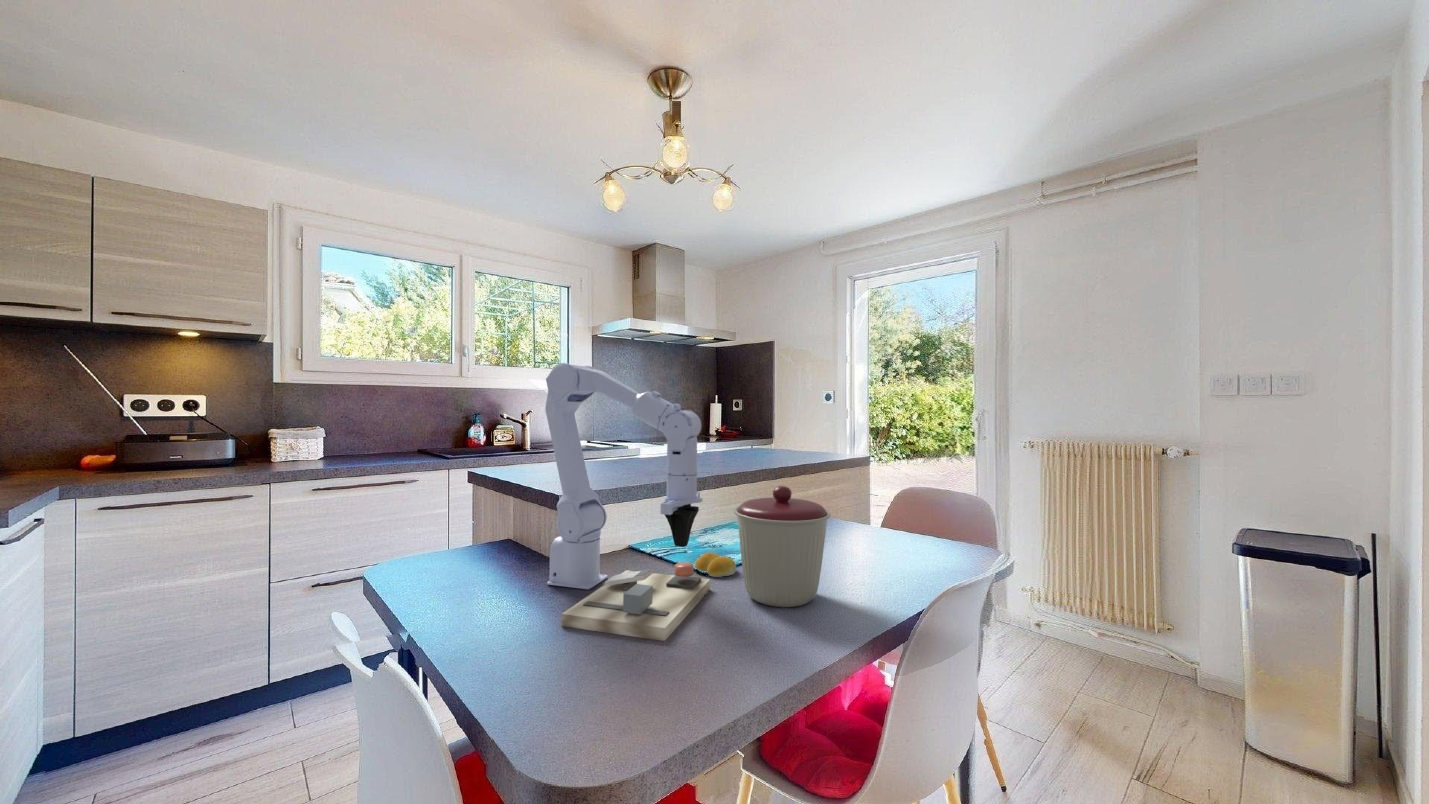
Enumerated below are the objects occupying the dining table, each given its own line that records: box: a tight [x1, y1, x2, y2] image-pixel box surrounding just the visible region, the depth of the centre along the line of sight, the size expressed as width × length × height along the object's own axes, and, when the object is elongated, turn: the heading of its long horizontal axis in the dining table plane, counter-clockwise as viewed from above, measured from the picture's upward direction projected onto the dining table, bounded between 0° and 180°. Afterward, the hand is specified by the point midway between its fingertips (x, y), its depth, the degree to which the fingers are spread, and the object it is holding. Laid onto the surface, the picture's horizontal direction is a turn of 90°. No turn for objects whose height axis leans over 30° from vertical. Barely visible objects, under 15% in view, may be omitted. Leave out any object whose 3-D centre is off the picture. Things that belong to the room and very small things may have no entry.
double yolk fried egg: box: [694, 552, 737, 577], centre depth 117 cm, size 8×9×4 cm
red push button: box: [674, 562, 695, 577], centre depth 103 cm, size 4×4×2 cm
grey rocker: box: [604, 568, 654, 586], centre depth 100 cm, size 8×4×1 cm, turn 74°
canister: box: [733, 485, 832, 608], centre depth 102 cm, size 18×18×21 cm
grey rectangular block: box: [623, 584, 653, 614], centre depth 89 cm, size 3×5×3 cm, turn 164°
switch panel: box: [560, 569, 711, 642], centre depth 96 cm, size 18×24×3 cm
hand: (681, 545), depth 102 cm, fingers closed
